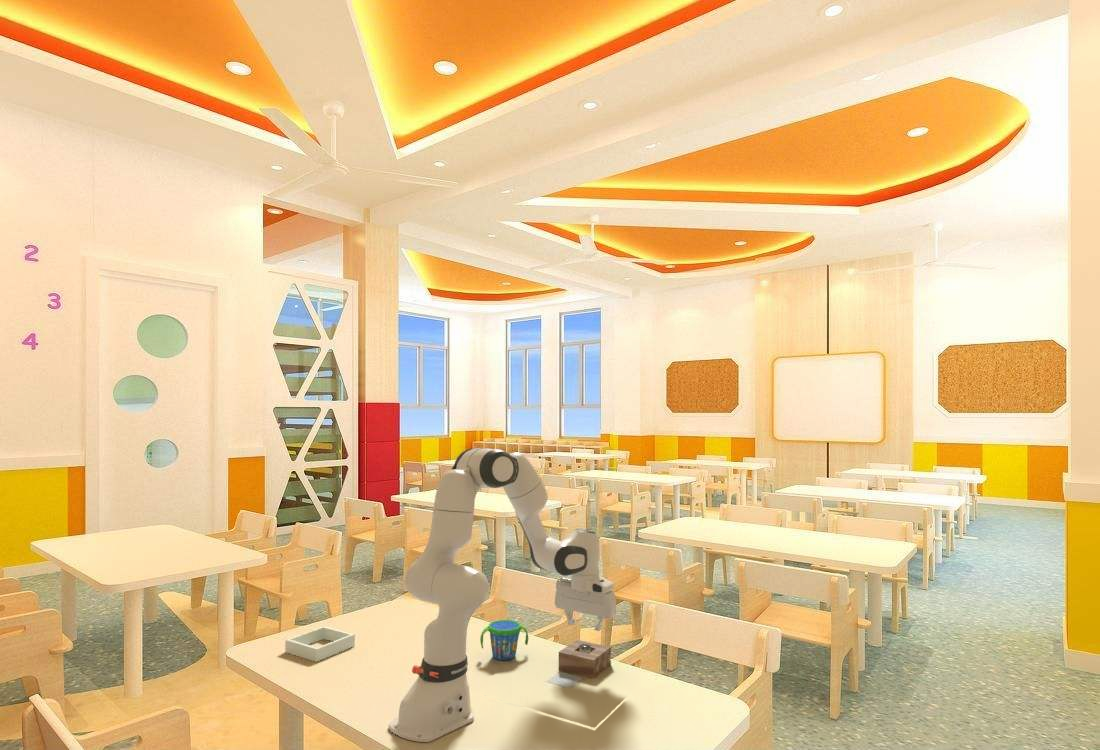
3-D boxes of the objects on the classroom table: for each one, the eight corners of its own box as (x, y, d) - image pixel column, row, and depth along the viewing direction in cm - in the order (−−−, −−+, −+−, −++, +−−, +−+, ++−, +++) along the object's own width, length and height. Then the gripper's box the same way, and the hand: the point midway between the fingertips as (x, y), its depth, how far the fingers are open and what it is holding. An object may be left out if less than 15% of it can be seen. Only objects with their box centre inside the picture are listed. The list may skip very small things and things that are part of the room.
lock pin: (587, 672, 191) (587, 649, 192) (577, 670, 193) (577, 646, 193) (592, 668, 194) (592, 645, 195) (582, 666, 196) (582, 643, 196)
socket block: (593, 680, 185) (593, 660, 186) (558, 671, 192) (558, 651, 192) (610, 666, 196) (610, 647, 196) (577, 658, 202) (577, 639, 202)
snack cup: (526, 649, 209) (526, 618, 210) (529, 662, 199) (530, 629, 200) (479, 651, 207) (480, 620, 208) (480, 664, 197) (480, 631, 197)
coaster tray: (316, 662, 198) (316, 649, 198) (285, 652, 206) (285, 639, 206) (354, 646, 211) (354, 634, 212) (323, 637, 219) (324, 626, 220)
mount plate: (569, 690, 179) (569, 687, 179) (546, 683, 183) (546, 681, 183) (583, 679, 186) (583, 677, 186) (559, 673, 190) (559, 671, 190)
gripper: (551, 578, 198) (550, 623, 196) (609, 589, 187) (609, 636, 186) (561, 575, 203) (560, 618, 202) (618, 584, 192) (618, 630, 191)
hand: (584, 627), depth 194 cm, fingers open, 8 cm apart
